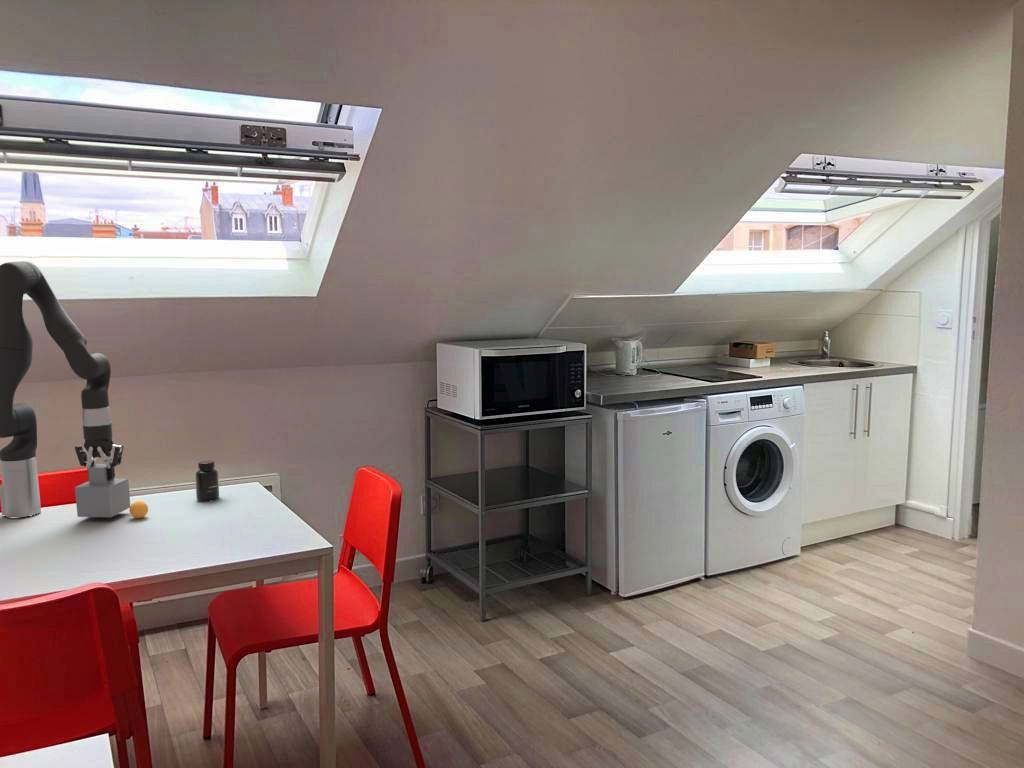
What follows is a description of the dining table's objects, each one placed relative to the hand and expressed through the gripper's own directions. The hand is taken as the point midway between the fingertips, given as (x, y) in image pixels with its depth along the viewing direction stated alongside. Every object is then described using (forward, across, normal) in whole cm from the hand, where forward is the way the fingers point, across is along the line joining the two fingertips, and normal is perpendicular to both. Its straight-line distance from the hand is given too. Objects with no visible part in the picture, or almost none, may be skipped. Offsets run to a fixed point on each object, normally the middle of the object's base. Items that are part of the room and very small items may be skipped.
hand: (101, 479), depth 246 cm
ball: (+9, +11, 0) cm, 14 cm away
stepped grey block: (+10, 0, 0) cm, 10 cm away
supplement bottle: (+12, +22, +21) cm, 32 cm away
